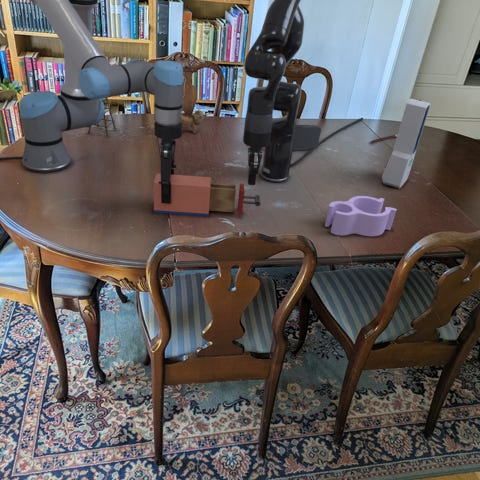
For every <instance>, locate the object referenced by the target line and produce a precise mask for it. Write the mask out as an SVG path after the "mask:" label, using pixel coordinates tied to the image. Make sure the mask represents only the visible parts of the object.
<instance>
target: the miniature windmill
mask: <svg viewBox="0 0 480 480" xmlns="http://www.w3.org/2000/svg"><path fill="white" fill-rule="evenodd" d="M105 101H106V103H107V107H106V106H104V116H103V119H102V120H101V121H104V125H101V124H100V123H98V124H96V125H94V127H95V126H96V127H97V128H99V127H101V128H105V136H106V137H109V132H108V131H109V130H108V127H110V126H111V125H112V126H113V129H114V131H117V127H116V121H115V119H114V117H113V113H112V108H111V106H110V102H109V97H108V98H105V99H103V102H105ZM105 110H106V111H105ZM108 112H109V114H110V119H106V114H107V113H108ZM107 122H110V123H109V124H107ZM91 128H92V126H90V127H88V131H87V132H88V134H91Z"/></svg>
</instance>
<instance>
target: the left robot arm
mask: <svg viewBox="0 0 480 480" xmlns="http://www.w3.org/2000/svg"><path fill="white" fill-rule="evenodd" d="M98 1H99V0H30V2H31V3H32V4H33V5H35V6H37V7H38V8H39V9H40V11H41V12H42V14H43V16H44V17H45V18H46V20H47V21H48V23H49V25H50V26H51V28H52V30H53V31H54V33H55V34H56V36H57V37H58V39H59V41H61V43H62V45H63V58H64V59H63V61H64V64H63V65H64V82H63V83H62V84H61V86H60V94H57V93H56V92H54V91H51V90H44V91H42V90H37V91H33V92H30V93H27V94H25V95H24V96H22V97H21V98H20V100H19V103H18V104H19V116H20V119H21V125H22V132H23V137H24V148H23V153H22V156H3V157H0V161H13V160H14V161H15V160H21V161H22V166H23V168H24V169H25V170H27V171H29V172H33V173H39V174H46V173H56V172H61V171H63V170H66V169H67V168H69V167H70V166H71V163H72V159H71V155H70V153H69V151H68V150H67V149H68V148H67V147H66V145H65V143H64V140H63V133H64V132H69V131H74V130H79V129H83V128H89V127H90V126H91V127H92V126H95V125H97V124H98V123H99V124H100V123H101V122H102V121H103V120H102V119H104V111H105V109H104V107H105V103H104V101H103V100H104V99H106V98H108V99H109V98H112V97H118V96H124V95H130V94H131V95H132V94H138V93H147V94H150V95H152V96H153V100H154V101H153V120H154V123H153V127H154V130H153V131H154V136H155V137H157V138H158V139H160V140H161V142H160V144H159V145H160V146H159V147H160V174H161V181H159V184H161V203H166V204H171V181H170V179H171V175H175V169H177V164H175V163H176V161H175V154H176V146H177V145H176V144H177V141H176V140H178V139H180V138H181V137H182V135H183V124H182V123H181V122H182V116H183V115H185V110H183V102H184V100H183V99H184V83H185V79H184V67H183V65H182V64H181V63H180V62H178V61H172V60H168V59H167V60H157V61H156V62H154V63H151V62H148V61H147V60H145V59H139V58H132V59H130V60H129V61H127V62H126V63H121V64H111V63H110V61H109V59H108V58H107V57H106V55H105V53H104V52H103V50H102V49H101V48H100V46H99V45H98V43H97V41H96V40H95V39H94V37H93V9H94V8H95V7H96V6H97V5H98V4H99V3H98Z"/></svg>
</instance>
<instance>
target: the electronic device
mask: <svg viewBox="0 0 480 480" xmlns="http://www.w3.org/2000/svg"><path fill="white" fill-rule="evenodd" d="M431 105H432V103H431V102H428V101H423V100H418V99H414V98H409V99H408V100H407V101H406V104H405V107H404V110H403V113H402V118H401V120H400V124H399V127H398V131H397V134H398V135H397V137H395V138H396V139H395V142H394V146H393V148H392V153H391V154H390V157H389V160H388V162H387V164H386V166H385V169H384V171H383V173H382V175H381V181H382V183H383V185H387V186H390V187H393V188H396V189H401V188H402V187H403V186H404V184H405V183H406V182H407V180H408V179H409V175H410V173H411V169H412V167H413V162H414V160H415V156H416V152H417V149H418V146H419V143H420V141H421V136H422V134H423V130H424V127H425V124H426V120H427V118H428V115H429V111H430V109H431Z"/></svg>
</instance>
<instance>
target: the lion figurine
mask: <svg viewBox="0 0 480 480" xmlns="http://www.w3.org/2000/svg"><path fill="white" fill-rule="evenodd" d="M203 120H204V111H202V110H200V109H197V110H195V111H194V112H193V113H192V114H190V115H189V116H183V115H182V122H181V123H182V126H186V127H189V126H190V132H192V133H193V134H196V133H197V130H196V127H197V126H200V124H201V123H202V122H203Z"/></svg>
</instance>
